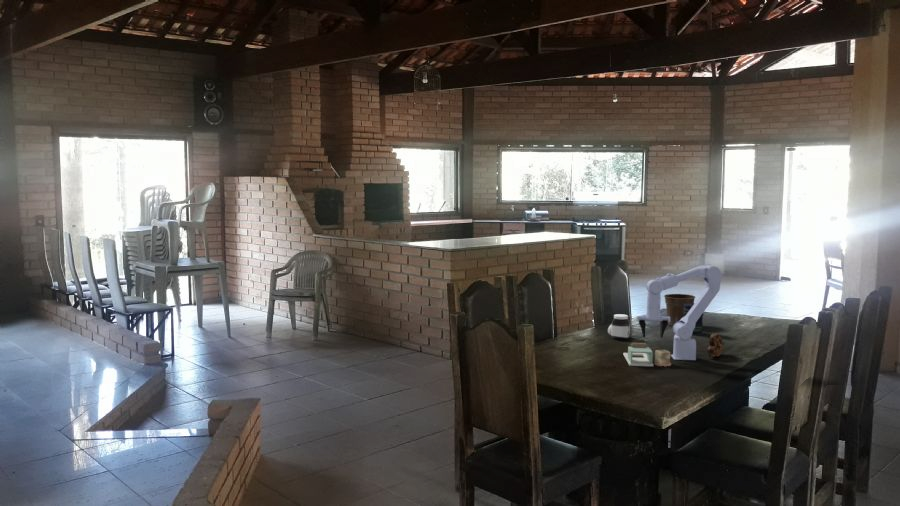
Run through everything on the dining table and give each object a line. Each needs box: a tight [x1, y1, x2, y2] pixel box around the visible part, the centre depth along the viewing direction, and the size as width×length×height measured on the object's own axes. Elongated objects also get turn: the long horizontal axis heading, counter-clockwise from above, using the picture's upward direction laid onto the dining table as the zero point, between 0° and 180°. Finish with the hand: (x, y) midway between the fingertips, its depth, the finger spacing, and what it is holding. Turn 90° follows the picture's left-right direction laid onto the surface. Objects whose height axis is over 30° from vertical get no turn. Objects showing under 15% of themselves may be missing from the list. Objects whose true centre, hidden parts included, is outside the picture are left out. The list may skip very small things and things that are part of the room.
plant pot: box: [663, 293, 696, 327], centre depth 398 cm, size 16×16×16 cm
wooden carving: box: [707, 333, 725, 358], centre depth 329 cm, size 16×5×10 cm, turn 148°
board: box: [623, 352, 654, 367], centre depth 322 cm, size 10×20×1 cm, turn 174°
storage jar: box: [684, 302, 704, 336], centre depth 378 cm, size 10×10×15 cm
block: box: [654, 349, 671, 364], centre depth 315 cm, size 4×4×5 cm
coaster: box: [653, 361, 672, 367], centre depth 315 cm, size 7×7×1 cm
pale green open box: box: [627, 342, 653, 364], centre depth 316 cm, size 9×9×7 cm
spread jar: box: [607, 313, 631, 341], centre depth 367 cm, size 12×11×12 cm
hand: (652, 337), depth 326 cm, fingers open, 7 cm apart
